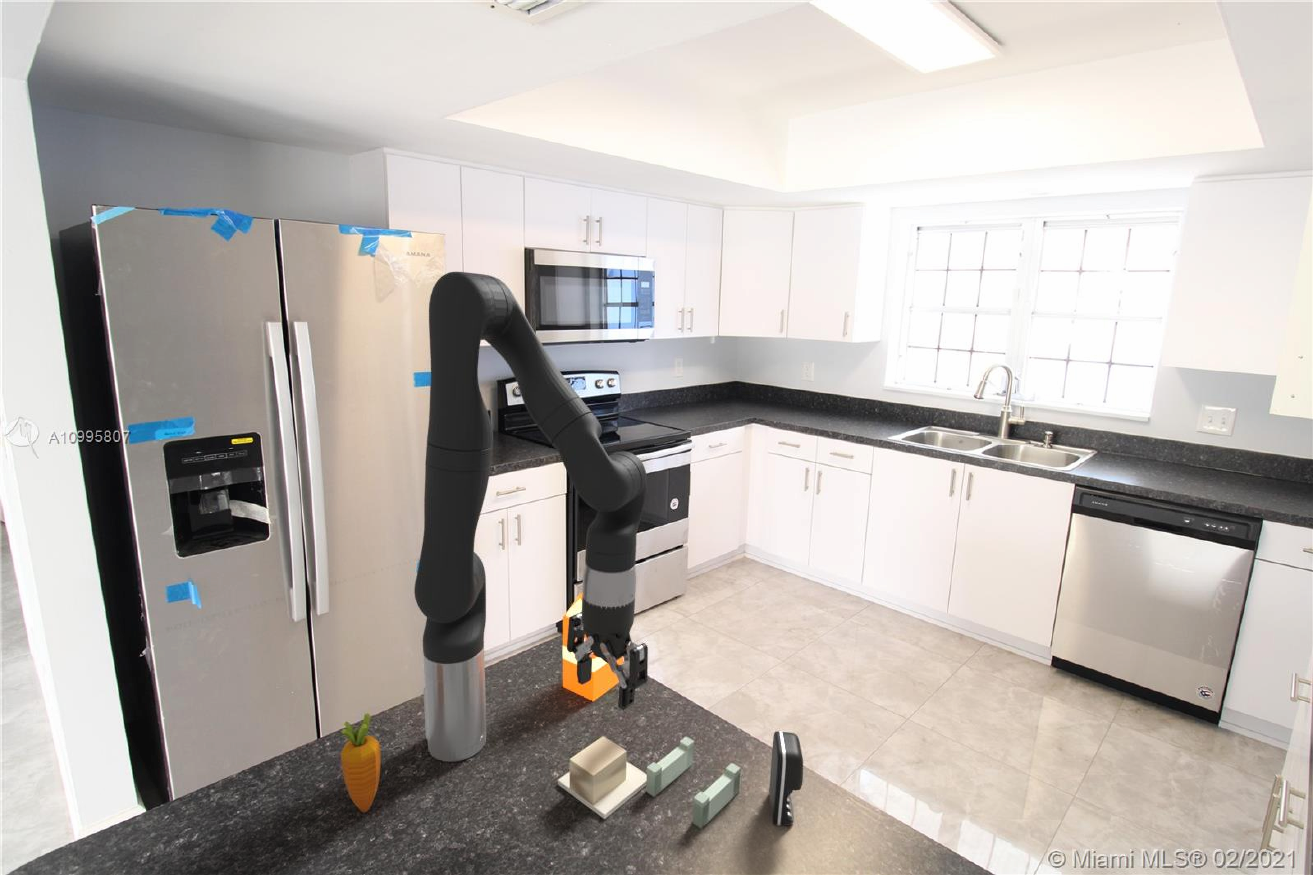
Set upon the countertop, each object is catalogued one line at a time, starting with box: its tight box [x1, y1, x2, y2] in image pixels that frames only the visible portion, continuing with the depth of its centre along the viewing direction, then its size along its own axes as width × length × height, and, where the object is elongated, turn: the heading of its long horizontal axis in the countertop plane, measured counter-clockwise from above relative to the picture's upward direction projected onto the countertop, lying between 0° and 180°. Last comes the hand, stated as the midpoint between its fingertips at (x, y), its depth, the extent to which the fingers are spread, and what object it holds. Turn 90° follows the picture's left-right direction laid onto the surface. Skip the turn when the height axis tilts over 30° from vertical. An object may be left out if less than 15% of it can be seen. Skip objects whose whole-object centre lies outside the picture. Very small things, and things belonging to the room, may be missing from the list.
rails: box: [645, 736, 741, 829], centre depth 100 cm, size 10×10×4 cm
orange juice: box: [562, 592, 624, 702], centre depth 124 cm, size 8×9×20 cm
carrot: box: [340, 713, 381, 813], centre depth 93 cm, size 5×5×15 cm
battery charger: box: [768, 730, 804, 826], centre depth 96 cm, size 7×4×11 cm, turn 175°
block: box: [569, 735, 628, 805], centre depth 99 cm, size 5×7×5 cm
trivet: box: [557, 761, 647, 820], centre depth 101 cm, size 10×10×1 cm
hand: (604, 694), depth 97 cm, fingers open, 8 cm apart
